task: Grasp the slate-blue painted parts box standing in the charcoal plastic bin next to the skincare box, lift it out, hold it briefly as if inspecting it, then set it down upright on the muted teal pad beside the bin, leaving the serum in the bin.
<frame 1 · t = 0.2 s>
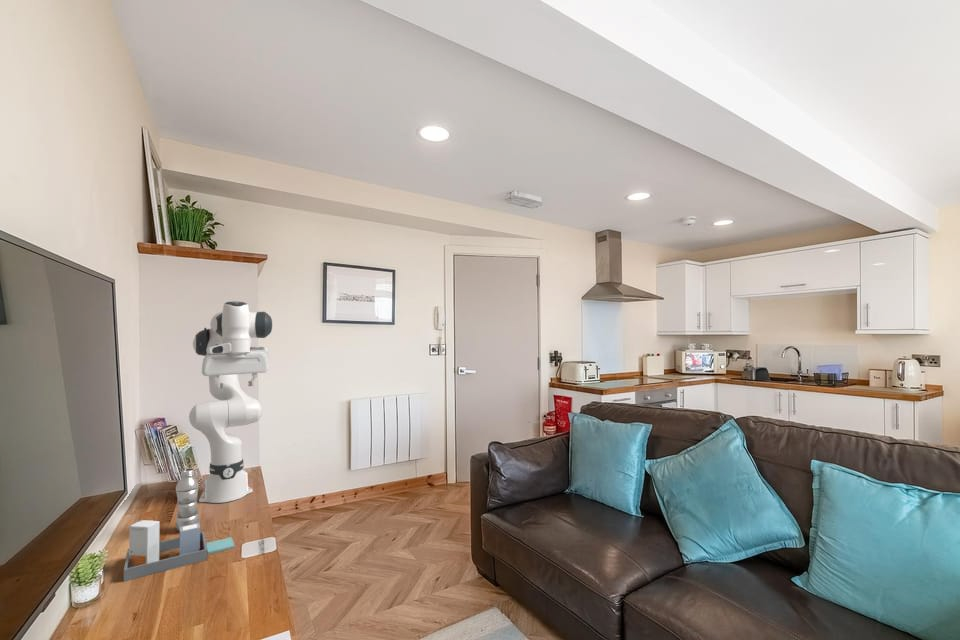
hand: (235, 387, 155), 47 cm above the tv stand, fingers open, 8 cm apart
plastic bottle: (187, 530, 150), on the tv stand
bin: (167, 559, 130), on the tv stand
slate box: (189, 554, 134), resting in bin
skincare box: (144, 565, 127), resting in bin
pad: (220, 546, 138), on the tv stand
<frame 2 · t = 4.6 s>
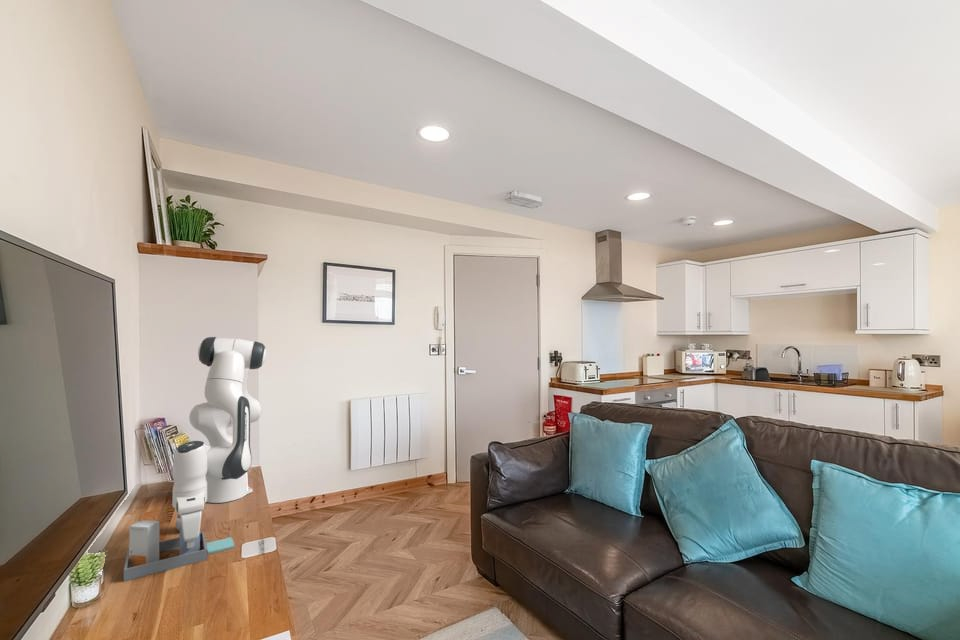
hand: (189, 543, 134), 3 cm above the tv stand, fingers closed on slate box, 4 cm apart
slate box: (189, 553, 134), resting in bin, touching gripper
everything else where it was.
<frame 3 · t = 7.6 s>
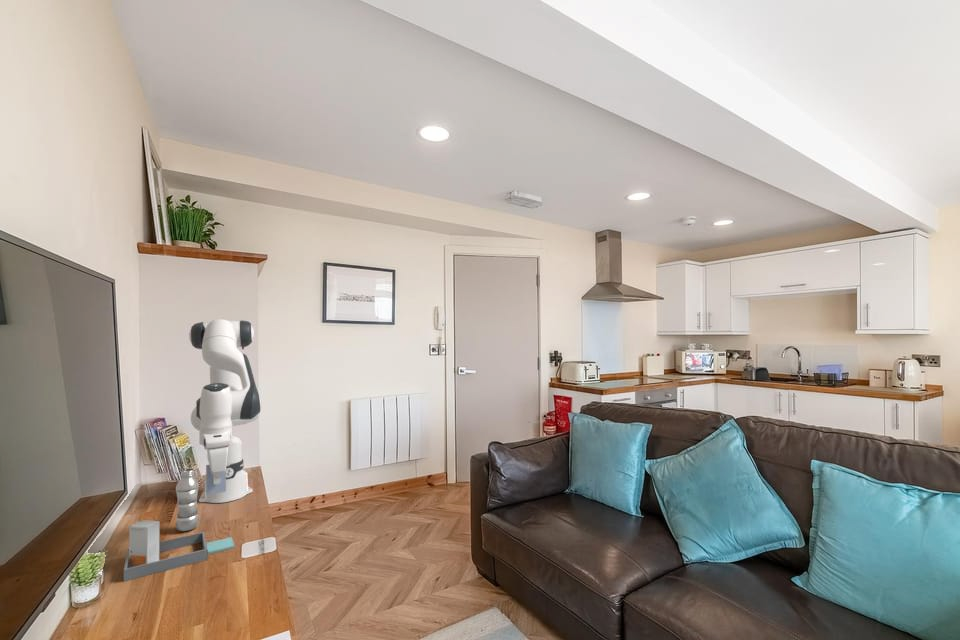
hand: (216, 481, 138), 20 cm above the tv stand, fingers closed on slate box, 4 cm apart
slate box: (215, 491, 138), point 17 cm above the tv stand, touching gripper
everything else where it was.
when the fingers open (5 cm above the tv stand, at t = 10.8 s): slate box stays where it is, resting on pad.
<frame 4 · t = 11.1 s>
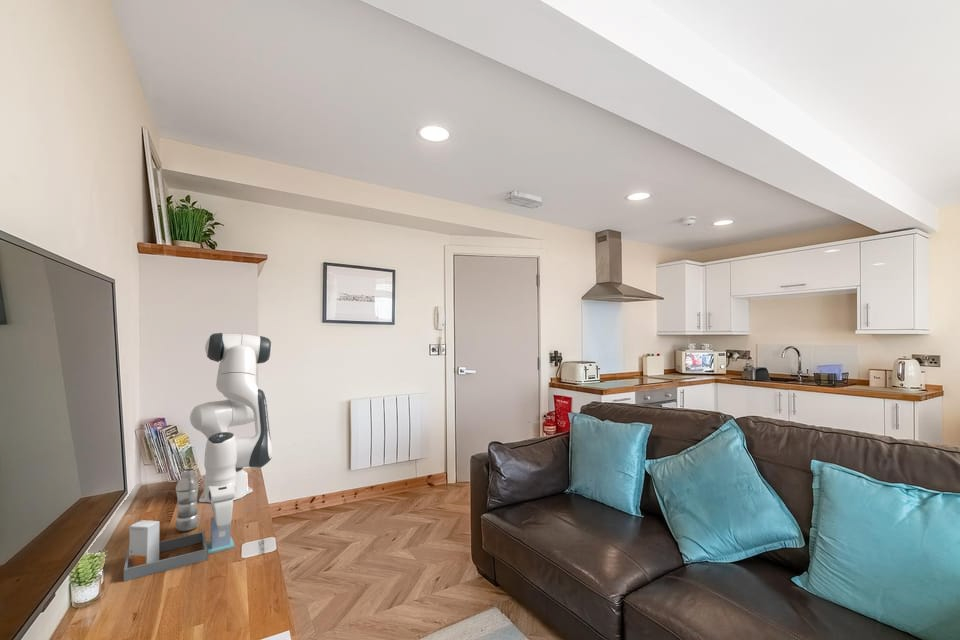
hand: (220, 531, 138), 5 cm above the tv stand, fingers open, 6 cm apart
slate box: (220, 544, 138), point 1 cm above the tv stand, touching pad
everything else where it was.
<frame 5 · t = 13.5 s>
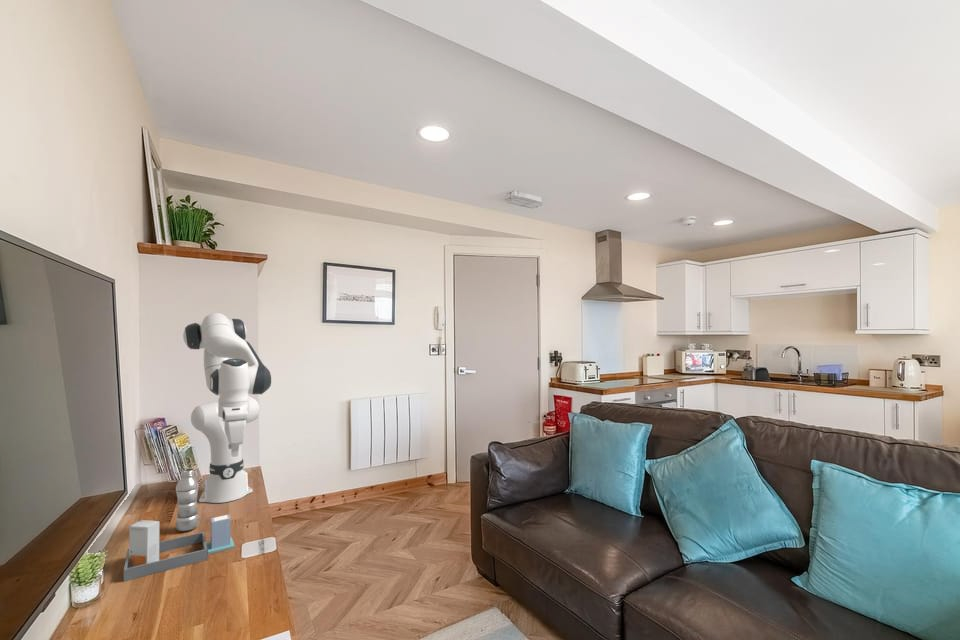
hand: (233, 452, 143), 28 cm above the tv stand, fingers open, 8 cm apart
nothing on the tv stand moved.
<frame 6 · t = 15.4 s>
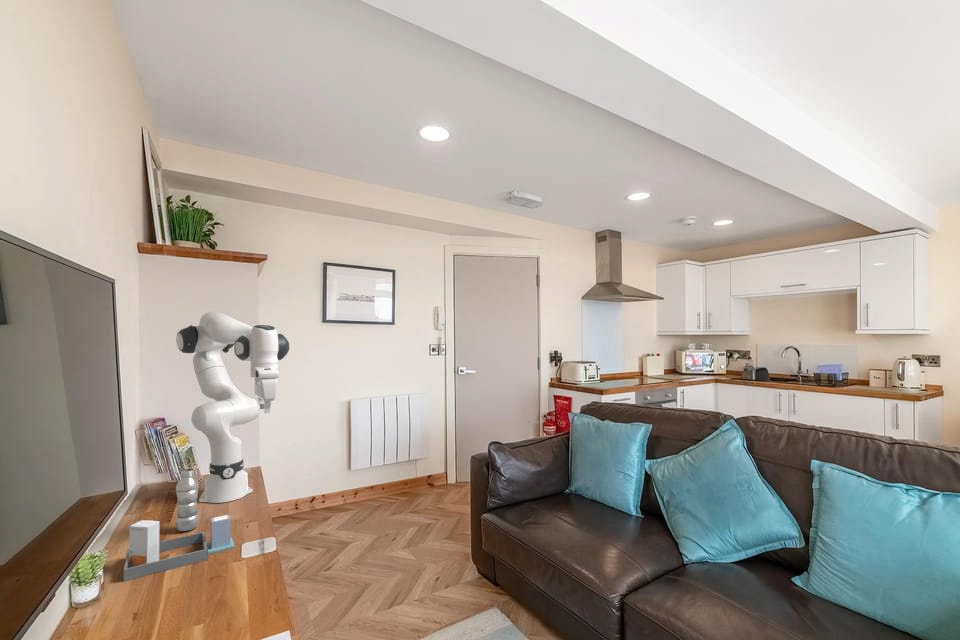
hand: (264, 410, 155), 39 cm above the tv stand, fingers open, 8 cm apart
nothing on the tv stand moved.
at the end: slate box inside the target area on the pad (0.1 cm from its centre), point 0.6 cm above the pad's base; slate box tilted 0°; the gripper is holding nothing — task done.
